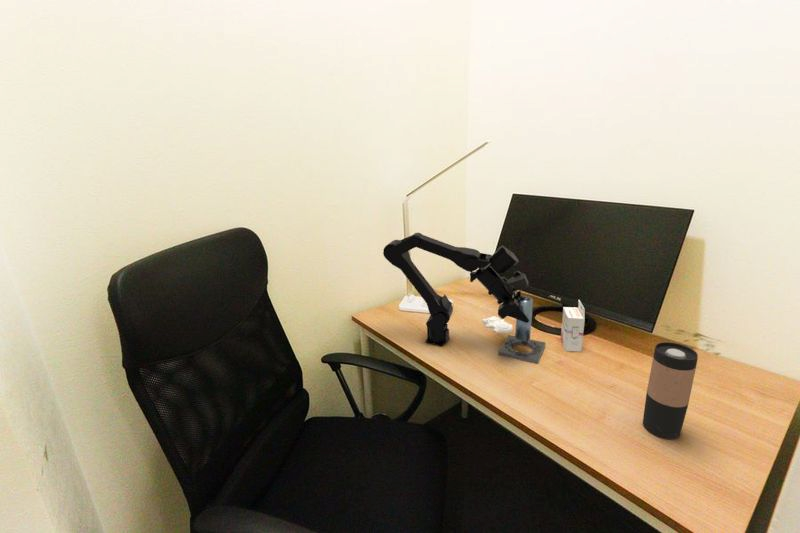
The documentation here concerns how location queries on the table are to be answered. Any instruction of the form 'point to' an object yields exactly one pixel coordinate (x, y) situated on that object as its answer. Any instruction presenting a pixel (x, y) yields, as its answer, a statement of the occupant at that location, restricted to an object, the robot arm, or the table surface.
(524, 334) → the thermos bottle
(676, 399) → the travel mug
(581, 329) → the ink cartridge box
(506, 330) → the astronaut figurine
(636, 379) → the table surface
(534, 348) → the square metal washer
